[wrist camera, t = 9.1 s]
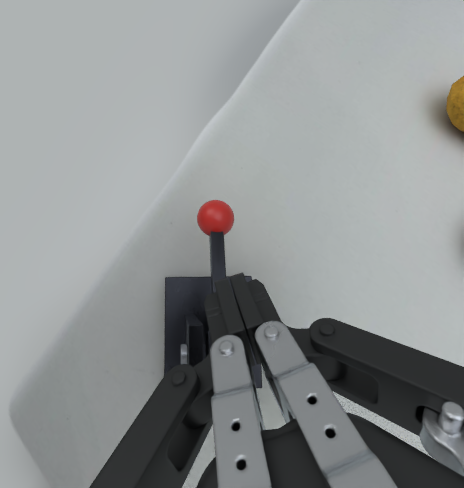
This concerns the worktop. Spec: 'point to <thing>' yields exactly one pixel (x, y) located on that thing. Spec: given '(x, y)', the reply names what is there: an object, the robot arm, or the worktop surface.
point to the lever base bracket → (190, 322)
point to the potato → (456, 104)
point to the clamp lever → (215, 241)
